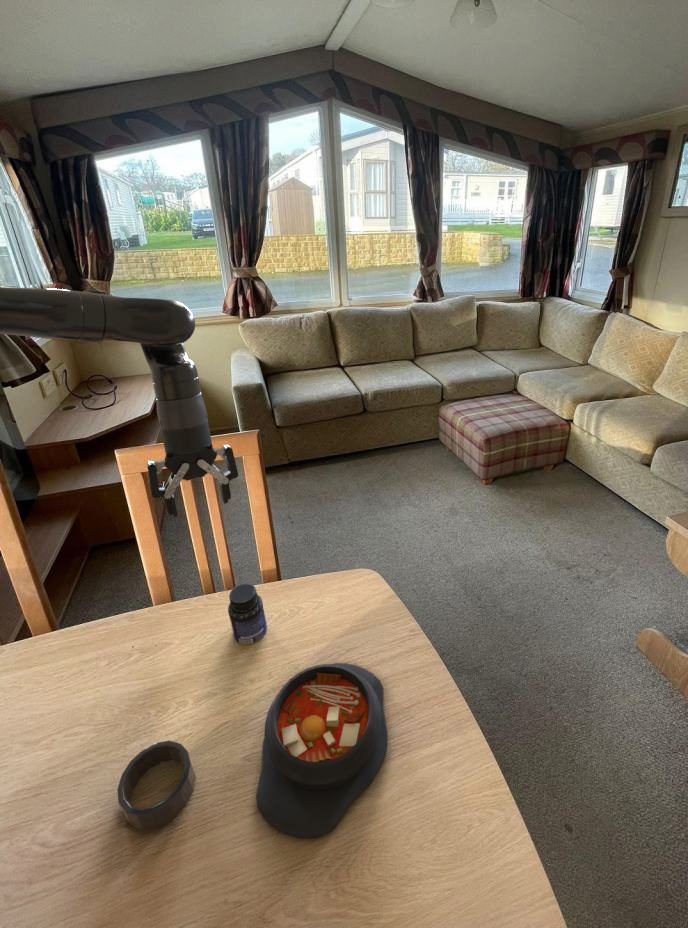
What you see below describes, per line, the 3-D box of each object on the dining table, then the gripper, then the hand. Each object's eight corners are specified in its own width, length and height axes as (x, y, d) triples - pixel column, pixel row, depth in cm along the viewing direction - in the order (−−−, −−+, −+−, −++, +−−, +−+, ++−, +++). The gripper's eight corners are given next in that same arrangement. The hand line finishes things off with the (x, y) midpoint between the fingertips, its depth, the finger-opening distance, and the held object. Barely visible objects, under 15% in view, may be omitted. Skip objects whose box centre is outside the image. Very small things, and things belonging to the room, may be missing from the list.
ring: (117, 841, 63) (107, 821, 61) (138, 767, 71) (129, 746, 69) (189, 828, 64) (182, 807, 62) (201, 756, 72) (195, 735, 70)
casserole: (308, 658, 86) (304, 625, 83) (408, 688, 81) (408, 654, 77) (225, 814, 65) (214, 779, 62) (352, 870, 60) (349, 835, 56)
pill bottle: (274, 631, 92) (267, 588, 87) (251, 655, 87) (242, 611, 82) (251, 617, 95) (243, 575, 90) (227, 640, 90) (217, 597, 85)
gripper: (222, 409, 88) (236, 491, 92) (136, 424, 81) (155, 511, 86) (231, 417, 81) (245, 505, 86) (138, 435, 75) (159, 529, 79)
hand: (200, 508), depth 86 cm, fingers open, 8 cm apart
